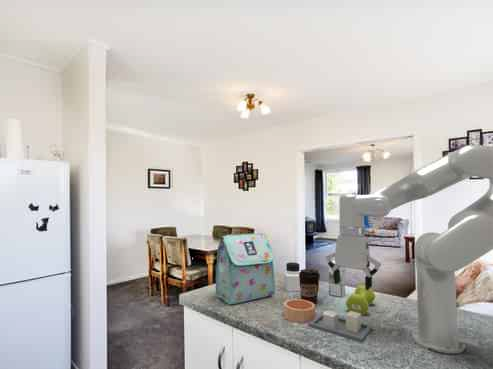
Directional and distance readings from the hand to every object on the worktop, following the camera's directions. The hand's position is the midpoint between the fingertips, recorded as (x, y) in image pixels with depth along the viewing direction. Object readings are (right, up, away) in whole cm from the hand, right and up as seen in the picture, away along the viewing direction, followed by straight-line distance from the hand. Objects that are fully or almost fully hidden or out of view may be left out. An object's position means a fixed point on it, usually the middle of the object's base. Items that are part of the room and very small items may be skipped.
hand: (352, 285), depth 91 cm
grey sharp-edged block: (-7, -13, -1) cm, 15 cm away
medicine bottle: (-12, -16, +40) cm, 45 cm away
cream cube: (0, -13, -1) cm, 13 cm away
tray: (-4, -14, 0) cm, 14 cm away
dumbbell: (+10, -15, +17) cm, 25 cm away
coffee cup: (-9, -15, +22) cm, 28 cm away
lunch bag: (-35, -16, +30) cm, 48 cm away
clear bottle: (+6, -16, +33) cm, 37 cm away
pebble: (-6, -14, +5) cm, 16 cm away
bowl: (-15, -14, +9) cm, 23 cm away
